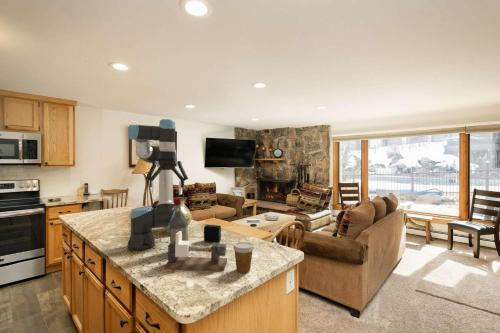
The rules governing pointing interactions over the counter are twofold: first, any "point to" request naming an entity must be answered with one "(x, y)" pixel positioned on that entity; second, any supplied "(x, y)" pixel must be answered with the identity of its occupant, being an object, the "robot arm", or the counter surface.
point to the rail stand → (198, 258)
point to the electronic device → (212, 233)
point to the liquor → (178, 223)
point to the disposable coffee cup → (243, 256)
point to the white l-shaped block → (181, 246)
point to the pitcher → (184, 212)
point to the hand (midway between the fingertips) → (167, 194)
